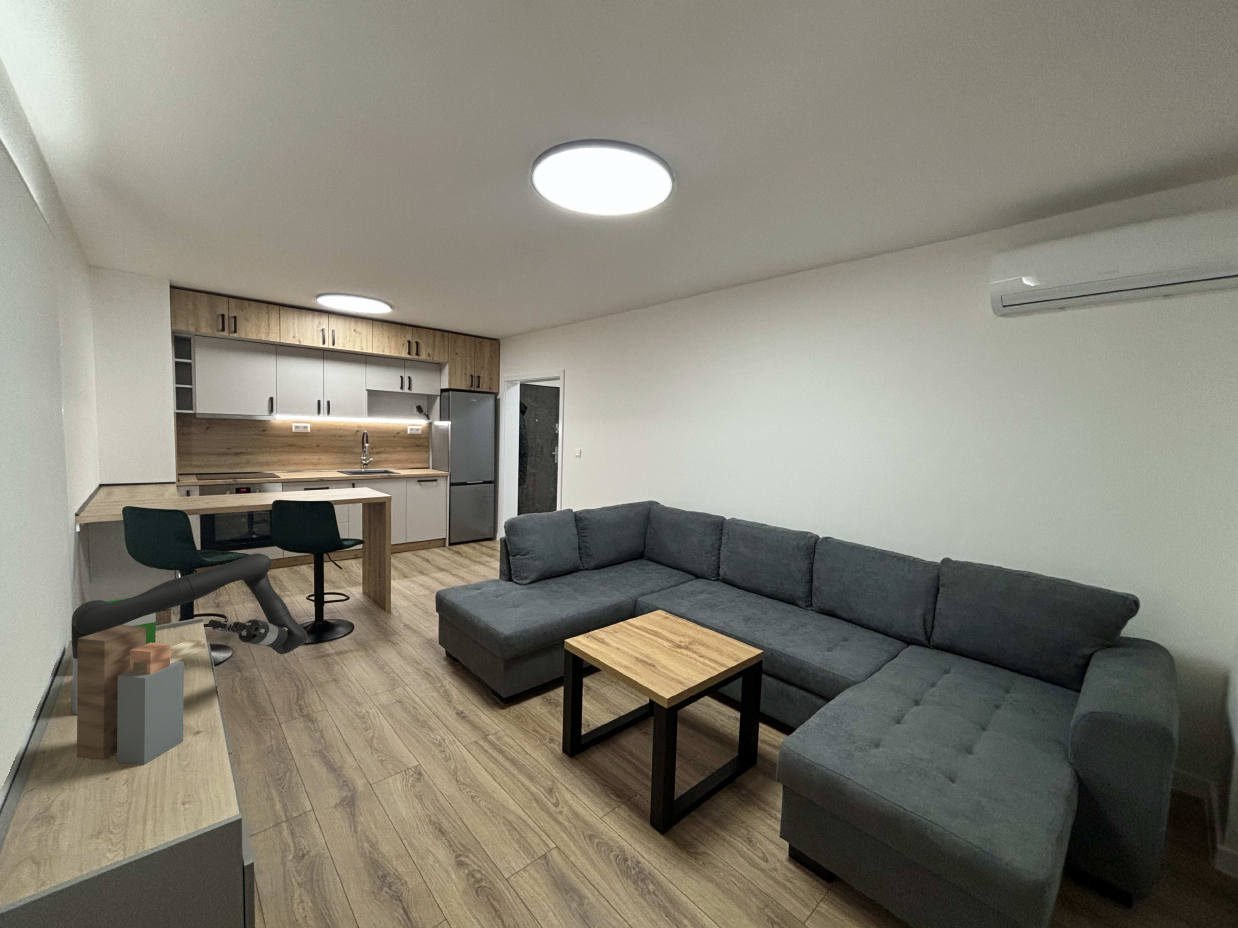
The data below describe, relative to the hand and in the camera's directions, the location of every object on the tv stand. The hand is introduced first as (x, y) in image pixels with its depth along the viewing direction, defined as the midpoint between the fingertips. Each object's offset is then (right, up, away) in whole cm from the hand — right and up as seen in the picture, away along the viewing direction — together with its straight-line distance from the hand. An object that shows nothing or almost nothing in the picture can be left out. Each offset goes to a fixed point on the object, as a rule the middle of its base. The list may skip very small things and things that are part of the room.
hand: (221, 623), depth 150 cm
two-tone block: (-1, -5, -16) cm, 17 cm away
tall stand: (-14, -28, -19) cm, 37 cm away
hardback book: (-61, -25, +28) cm, 72 cm away
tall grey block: (-2, -28, -21) cm, 35 cm away
